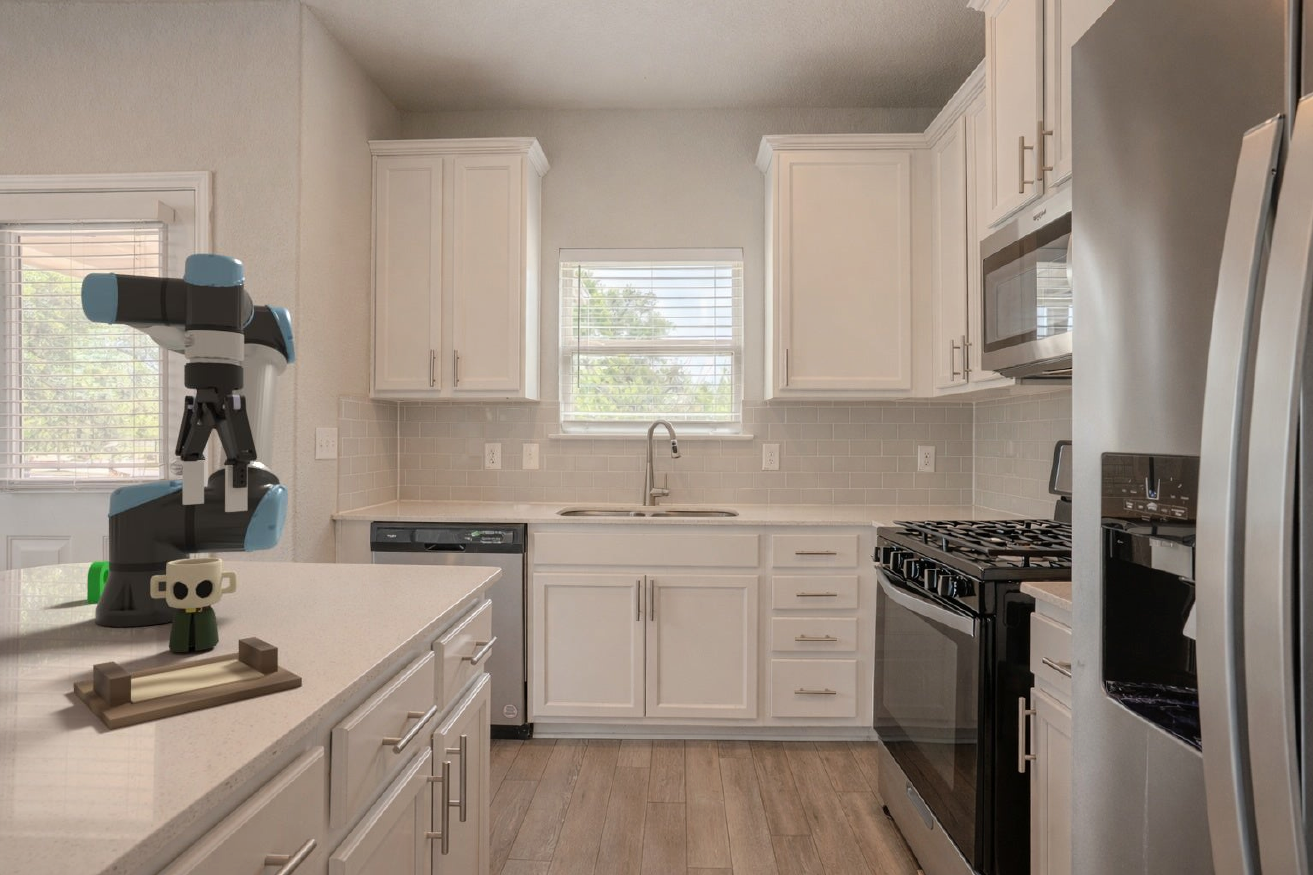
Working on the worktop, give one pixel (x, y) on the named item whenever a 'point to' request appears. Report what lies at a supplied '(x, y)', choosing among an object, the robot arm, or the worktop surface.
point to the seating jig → (184, 684)
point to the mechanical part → (97, 580)
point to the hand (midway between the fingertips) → (214, 507)
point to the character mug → (193, 600)
